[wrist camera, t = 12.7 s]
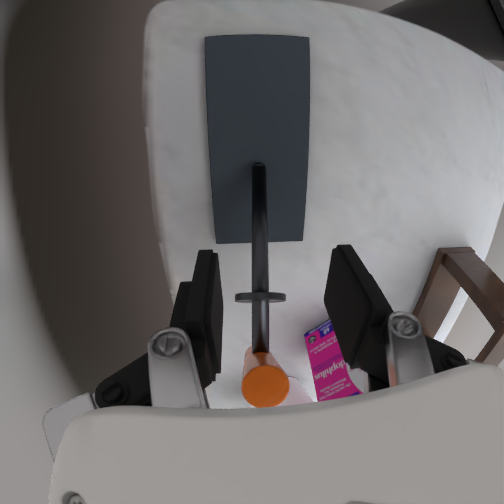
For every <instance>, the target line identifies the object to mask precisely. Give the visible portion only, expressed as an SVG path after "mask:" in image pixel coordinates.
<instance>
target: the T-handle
mask: <svg viewBox="0 0 504 504" xmlns="http://www.w3.org/2000/svg"><path fill="white" fill-rule="evenodd" d="M235 301H236V302H242V303H252V346H251V347H249V348H248V349H247V351H246V353H245V358H244V368H243V377H242V387H241V388H242V393H243V396H244V398H245V399H246V400H247V402H248V403H250V404H251V405H253V406H255V407H258V408H262V407H275V406H277V405H279V404H281V403H282V402H283V401H284V400H285V398H286V397H287V395H288V393H289V389H290V383H289V379H288V377H287V375H286V374H285V372H284V371H283V369H282V368H281V367H280V365H279V364H278V362H277V361H276V360H275V358H274V357H273V355H272V354H271V352H270V351H269V303H274V302H283V301H286V295H285V294H284V293H276V292H269V274H268V220H267V182H266V166H265V165H264V164H263V163H261V162H257V163H255V164H253V166H252V292H249V293H239V294H236V295H235Z"/></svg>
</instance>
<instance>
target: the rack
mask: <svg viewBox="0 0 504 504" xmlns="http://www.w3.org/2000/svg"><path fill="white" fill-rule="evenodd" d="M460 287H462V288H463V289H464V290H465V292H466V293H467V294H468V295H469V297H470V298H471V299H472V300H473V302H474V303H475V304H476V305H477V307H478V308H479V309H480V311H481V312H482V313H483V315H484V316H485V317H486V319H487V320H488V322H489V323H490V324H491V326H492V327H493V329H494V330H495V332H494V334H493V335H492V337H491V338H490V339H489V341H488V342H487V344H486V345H485V347H484V348H483V349H482V351H481V352H480V353H479V355H478V356H477V357H476V359H475V361H478V362H481V363H484V364H490V365H494V366H498V365H499V363H500V362H501V361H502V360H503V359H504V283H503V282H502V281H501V280H500V279H499V278H498V276H497V275H496V274H495V273H494V272H493V271H492V270H491V269H490V268H489V267H488V266H487V265H486V264H485V263H484V262H483V261H482V260H481V259H480V258H479V257H478V256H477V255H476V254H475V251H474V250H473V249H472V248H471V247H460V248H439V249H438V252H437V255H436V258H435V260H434V263H433V266H432V269H431V271H430V274H429V277H428V279H427V282H426V284H425V287H424V289H423V291H422V294H421V296H420V299H419V301H418V303H417V305H416V308H415V310H414V312H413V314H412V315H414V316H415V317H416V318H417V319H418V320H419V321H420V323H421V325H422V328H423V331H424V335H426V336H428V337H430V338H434V336H435V334H436V333H437V331H438V329H439V328H440V326H441V324H442V322H443V320H444V319H445V317H446V315H447V313H448V311H449V309H450V307H451V305H452V303H453V301H454V299H455V297H456V295H457V293H458V291H459V289H460Z"/></svg>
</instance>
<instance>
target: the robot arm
mask: <svg viewBox="0 0 504 504" xmlns="http://www.w3.org/2000/svg"><path fill="white" fill-rule="evenodd" d="M324 303H325V307H326V309H327V312H328V315H329V318H330V321H331V323H332V326H333V329H334V332H335V335H336V338H337V341H338V344H339V347H340V350H341V353H342V356H343V359H344V362H345V363H349V366H350V369H351V370H352V369H357V368H360V369H361V370H362V371H364V374H363V375H364V394H359V395H354V396H349V397H344V398H338V399H332V400H326V401H320V402H313V403H305V404H296V405H287V406H276V407H262V408H242V409H210V407H209V403H208V399H207V395H206V391H205V388H206V387H207V386H208V385H210V384H211V383H212V381H215V379H216V373H221V352H222V327H223V297H222V288H221V279H220V269H219V260H218V253H213V250H212V249H211V250H199V251H198V256H197V260H196V265H195V269H194V274H193V279H192V281H190V282H181V283H180V285H179V289H178V293H177V297H176V301H175V305H174V309H173V314H172V317H171V322H170V327H167V328H164V329H160V330H158V331H157V332H155V333H154V334H153V335H152V336H151V337H150V339H149V341H148V353H146V354H144V355H143V356H141V357H140V358H138V359H137V360H135V361H133V362H132V363H130V364H129V365H127V366H126V367H124V368H122V369H121V370H119V371H118V372H116V373H115V374H113V375H111V376H110V377H108V378H106V379H105V380H103V381H102V382H101V383H100V384H99V385H98V387H97V388H96V391H95V393H93V394H90V393H89V392H88V393H85V394H83V395H81V396H79V397H76V398H74V399H72V400H70V401H67V402H65V403H62V404H60V405H58V406H56V407H53V408H51V409H49V410H48V411H47V412H46V413H45V415H44V417H43V428H44V432H45V436H46V439H47V442H48V446H49V449H50V452H51V455H52V458H53V460H54V468H53V472H52V477H51V483H50V490H49V499H48V504H504V371H503V370H502V369H501V368H499V367H497V366H494V365H490V364H484V363H481V362H478V361H475V360H471V359H467V360H465V358H464V356H463V355H462V354H461V353H460V352H459V351H457V350H456V349H454V348H452V347H449V346H447V345H445V344H443V343H441V342H439V341H437V340H435V339H433V338H430V337H428V336H426V335H424V331H423V328H422V325H421V323H420V321H419V320H418V319H417V318H416V317H415V316H414V315H412V314H410V313H408V312H403V311H397V312H393V310H392V308H391V306H390V305H389V303H388V301H387V299H386V298H385V296H384V294H383V293H382V291H381V289H380V288H379V286H378V285H377V283H376V281H375V280H374V278H373V276H372V275H371V274H370V273H369V272H368V270H367V269H366V267H365V266H364V264H363V263H362V261H361V259H360V258H359V256H358V255H357V253H356V252H355V250H354V249H353V247H352V246H351V245H349V244H348V245H337V247H336V248H334V249H333V250H332V255H331V261H330V267H329V273H328V279H327V284H326V289H325V295H324Z"/></svg>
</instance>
